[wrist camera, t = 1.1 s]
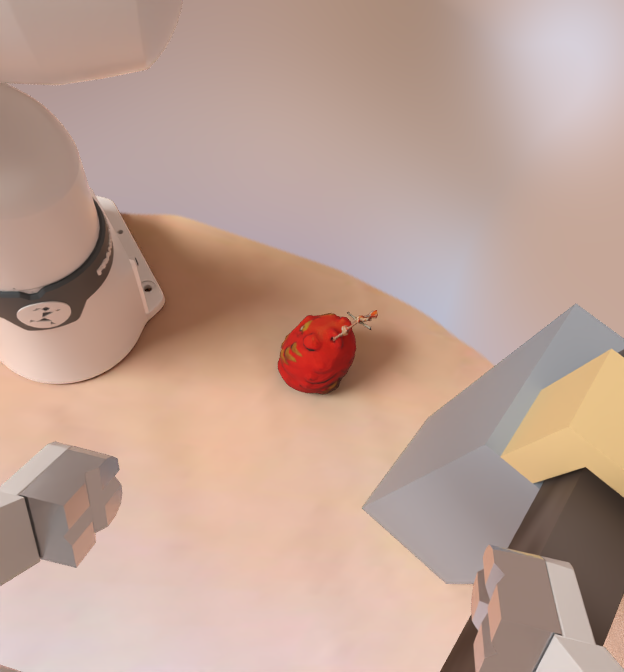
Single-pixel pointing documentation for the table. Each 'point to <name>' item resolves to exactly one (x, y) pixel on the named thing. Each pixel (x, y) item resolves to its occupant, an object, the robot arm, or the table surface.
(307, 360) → the red clay folk toy
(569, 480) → the block
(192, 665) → the table surface
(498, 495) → the post
